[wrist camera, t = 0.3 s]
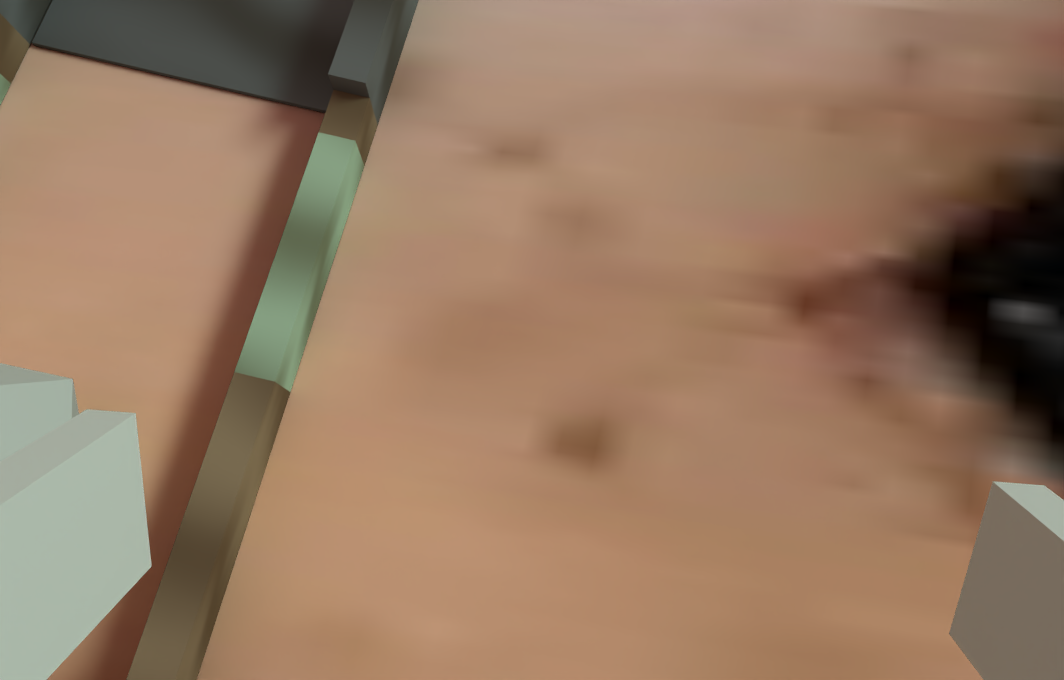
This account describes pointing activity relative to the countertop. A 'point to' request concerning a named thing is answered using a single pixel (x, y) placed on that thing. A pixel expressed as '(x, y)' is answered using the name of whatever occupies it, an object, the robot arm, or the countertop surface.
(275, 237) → the countertop surface
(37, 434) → the die
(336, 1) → the trap channel
